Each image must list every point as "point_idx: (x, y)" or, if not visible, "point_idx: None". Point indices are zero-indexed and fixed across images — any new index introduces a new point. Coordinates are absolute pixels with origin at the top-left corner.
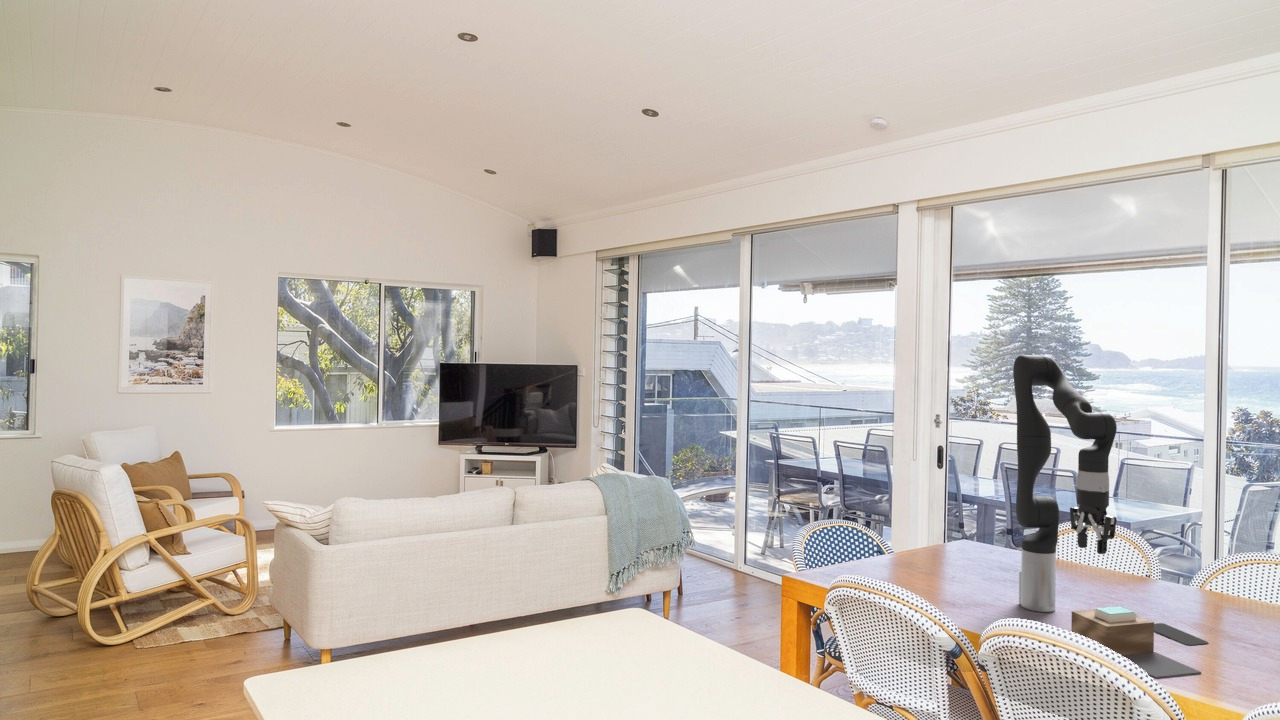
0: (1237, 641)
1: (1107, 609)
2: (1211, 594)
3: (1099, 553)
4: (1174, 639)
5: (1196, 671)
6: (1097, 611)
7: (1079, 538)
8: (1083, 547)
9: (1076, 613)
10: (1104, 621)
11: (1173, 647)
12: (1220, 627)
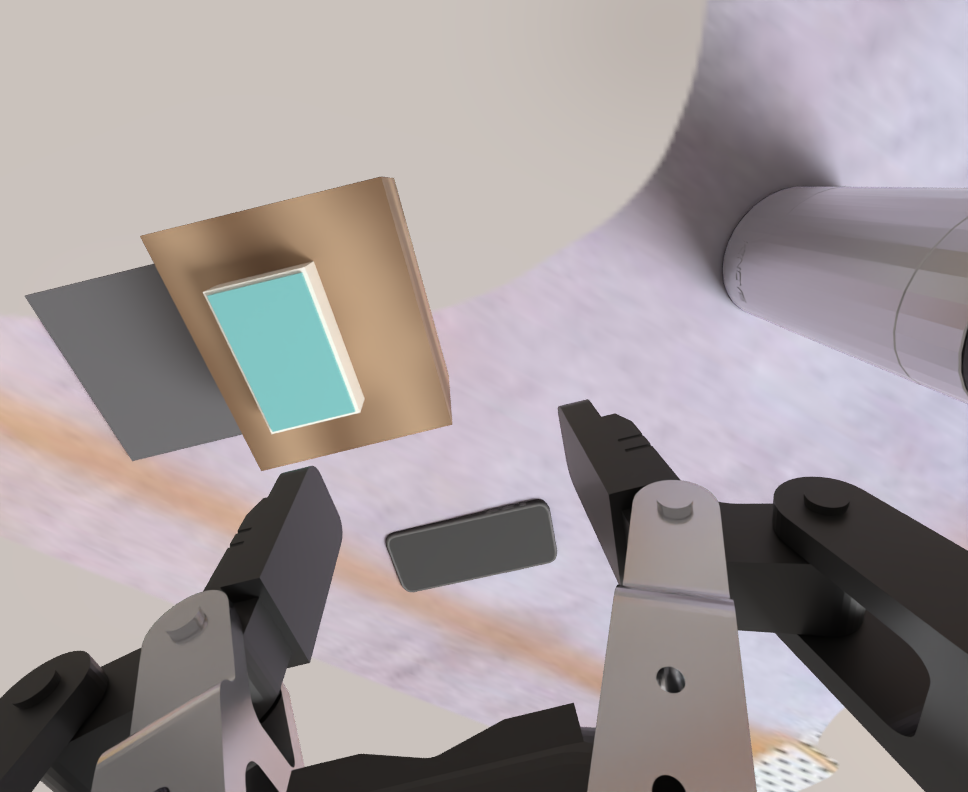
0: (428, 651)
1: (291, 325)
2: (751, 740)
3: (284, 473)
4: (427, 527)
5: (132, 450)
6: (285, 270)
7: (601, 452)
8: (562, 438)
9: (347, 185)
10: (227, 265)
11: (366, 495)
12: (529, 663)
